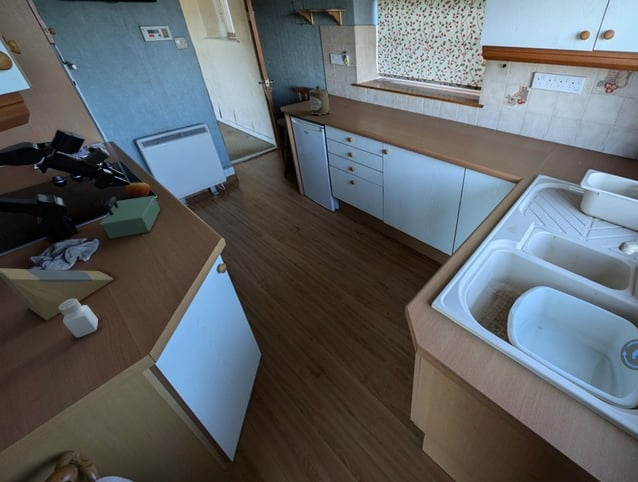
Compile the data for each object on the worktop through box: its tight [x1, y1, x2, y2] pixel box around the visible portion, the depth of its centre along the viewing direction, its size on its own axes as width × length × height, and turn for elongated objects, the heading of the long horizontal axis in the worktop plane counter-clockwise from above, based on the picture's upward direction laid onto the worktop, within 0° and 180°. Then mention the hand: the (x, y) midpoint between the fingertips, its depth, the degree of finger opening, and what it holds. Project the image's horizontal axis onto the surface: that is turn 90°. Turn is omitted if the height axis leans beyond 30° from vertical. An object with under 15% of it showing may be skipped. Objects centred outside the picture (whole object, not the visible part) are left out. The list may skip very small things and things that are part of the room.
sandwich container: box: [0, 267, 114, 321], centre depth 78 cm, size 9×15×15 cm, turn 156°
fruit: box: [125, 182, 151, 199], centre depth 124 cm, size 8×8×8 cm
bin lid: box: [99, 195, 156, 226], centre depth 106 cm, size 12×16×5 cm
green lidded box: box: [101, 197, 161, 239], centre depth 109 cm, size 12×16×6 cm
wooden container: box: [308, 85, 330, 113], centre depth 236 cm, size 15×15×22 cm
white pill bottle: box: [58, 299, 99, 339], centre depth 70 cm, size 4×4×10 cm
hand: (127, 180), depth 111 cm, fingers open, 9 cm apart
